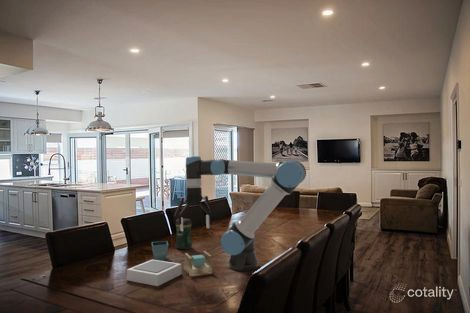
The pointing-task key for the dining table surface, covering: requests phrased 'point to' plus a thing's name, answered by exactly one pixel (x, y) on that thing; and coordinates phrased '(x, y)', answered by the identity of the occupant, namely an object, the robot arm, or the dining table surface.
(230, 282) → the dining table surface
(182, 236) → the coffee jar
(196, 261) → the teal block
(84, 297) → the dining table surface
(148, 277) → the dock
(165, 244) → the flower pot
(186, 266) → the tan plastic holder
